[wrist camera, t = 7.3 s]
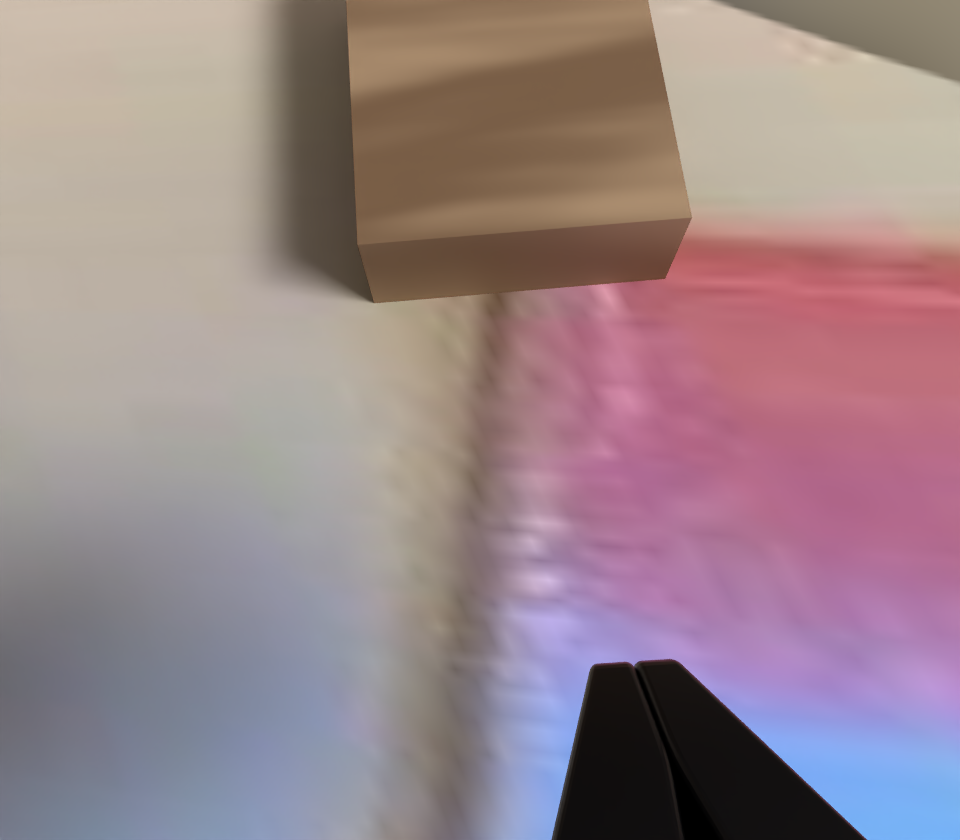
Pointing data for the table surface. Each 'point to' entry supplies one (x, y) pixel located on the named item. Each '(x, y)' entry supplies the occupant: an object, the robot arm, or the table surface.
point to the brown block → (510, 146)
